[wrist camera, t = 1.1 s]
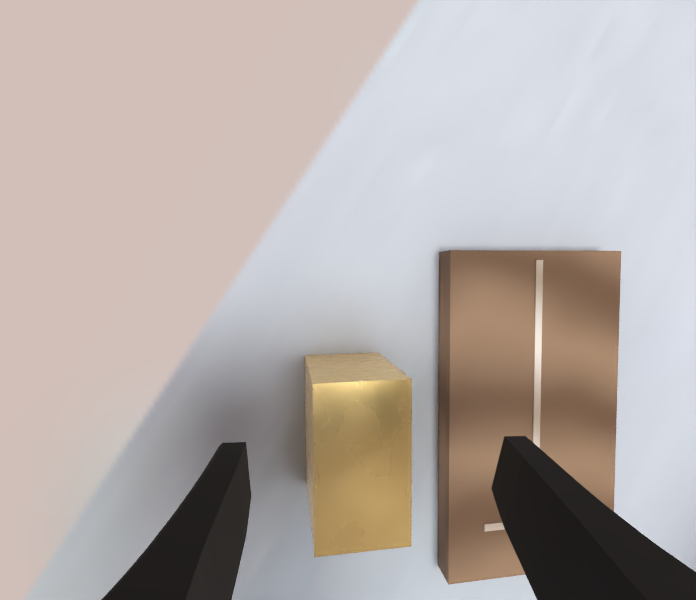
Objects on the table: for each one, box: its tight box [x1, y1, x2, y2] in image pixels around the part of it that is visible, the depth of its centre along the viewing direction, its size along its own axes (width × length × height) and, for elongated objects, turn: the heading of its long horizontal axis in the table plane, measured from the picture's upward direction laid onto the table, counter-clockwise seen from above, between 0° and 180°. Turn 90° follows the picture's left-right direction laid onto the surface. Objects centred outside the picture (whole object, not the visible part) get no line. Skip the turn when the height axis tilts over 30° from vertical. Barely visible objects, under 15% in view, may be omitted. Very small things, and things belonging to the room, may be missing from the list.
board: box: [438, 250, 621, 584], centre depth 23 cm, size 18×10×2 cm, turn 1°
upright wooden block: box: [305, 353, 411, 557], centre depth 19 cm, size 7×4×6 cm, turn 0°
